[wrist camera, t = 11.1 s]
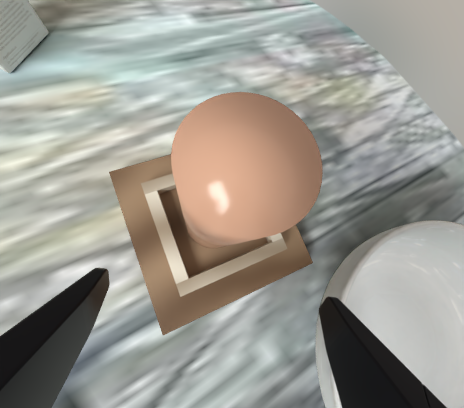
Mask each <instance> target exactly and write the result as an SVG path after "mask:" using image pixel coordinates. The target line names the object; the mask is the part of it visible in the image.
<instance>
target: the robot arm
mask: <svg viewBox="0 0 464 408" xmlns="http://www.w3.org/2000/svg"><path fill="white" fill-rule="evenodd" d="M108 288H109V274H108V270H107V269H104V268H95V269H93V270H92V271H90V272H89V273H88V274H86V275H85V276H83V277H82V278H81V279H79V280H78V281H76V282H75V283H74V284H72V285H71V286H69V287H68V288H67V289H65V290H64V291H62V292H61V293H60V294H58V295H57V296H56V297H54V298H53V299H51V300H50V301H49V302H47V303H46V304H44V305H43V306H42V307H40V308H39V309H37V310H36V311H35V312H33V313H32V314H30V315H29V316H28V317H26V318H25V319H23V320H22V321H21V322H19V323H18V324H17V325H15V326H14V327H12V328H11V329H10V330H8V331H7V332H5V333H4V334H3V335H1V336H0V408H52V406H53V404H54V402H55V400H56V398H57V396H58V394H59V392H60V391H61V389H62V387H63V385H64V383H65V381H66V379H67V377H68V375H69V373H70V371H71V369H72V368H73V366H74V364H75V362H76V360H77V358H78V356H79V354H80V352H81V350H82V348H83V346H84V344H85V343H86V341H87V339H88V337H89V335H90V333H91V331H92V328H93V326H94V324H95V321H96V319H97V316H98V314H99V311H100V308H101V306H102V303H103V301H104V298H105V296H106V293H107V291H108ZM319 316H320V321H321V327H322V332H323V338H324V343H325V348H326V352H327V356H328V359H329V363H330V367H331V370H332V374H333V377H334V381H335V384H336V388H337V391H338V395H339V398H340V402H341V405H342V408H447V407H446V406H445V405H444V404H443V403H442V402H441V401H440V400H439V399H438V398H437V397H436V396H435V395H434V394H433V393H432V392H431V391H430V390H429V389H428V388H427V387H426V386H425V385H423V384H422V382H421V381H420V380H419V379H418V378H417V377H416V376H415V375H414V374H413V373H412V372H411V371H410V370H409V369H408V368H407V367H406V366H405V365H404V364H403V363H402V362H401V361H400V360H399V359H398V358H397V357H396V356H395V355H394V354H393V353H392V352H391V351H390V350H389V349H388V348H387V347H386V346H385V345H384V344H383V343H382V342H381V341H380V340H379V339H378V338H377V337H376V336H375V335H374V334H373V333H372V332H371V331H370V330H369V329H368V328H367V327H366V326H365V325H364V324H363V323H362V322H361V321H360V320H359V319H358V318H357V317H356V316H355V315H354V314H353V313H352V312H351V311H350V310H349V309H348V308H347V307H346V306H345V305H344V304H343V303H342V302H341V301H340V300H339V299H338V298H336V297H330V296H328V297H326V298H325V300H324V301H323V303H322V304H321V306H320V308H319Z"/></svg>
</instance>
